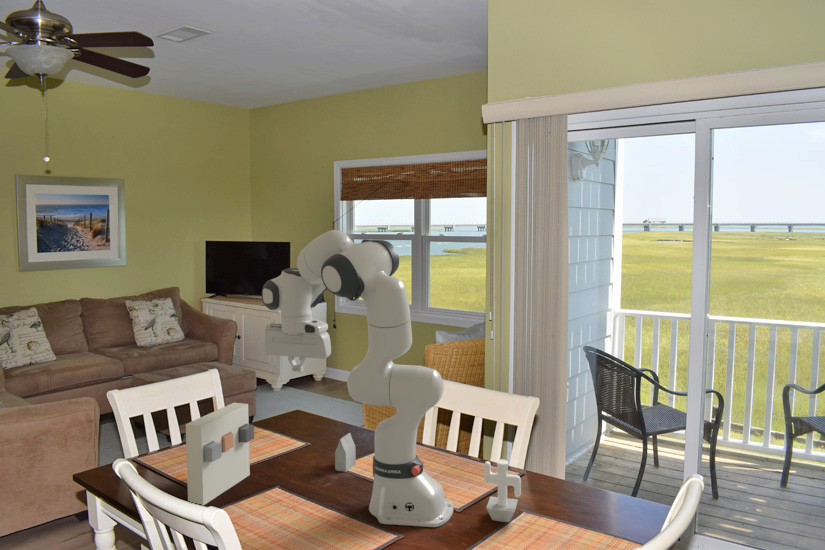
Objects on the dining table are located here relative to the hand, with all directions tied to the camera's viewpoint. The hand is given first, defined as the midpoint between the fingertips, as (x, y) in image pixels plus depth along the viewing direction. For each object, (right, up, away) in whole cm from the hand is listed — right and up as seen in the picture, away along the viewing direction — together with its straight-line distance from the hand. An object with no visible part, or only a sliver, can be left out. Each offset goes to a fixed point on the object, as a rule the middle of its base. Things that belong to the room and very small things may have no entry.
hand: (297, 371), depth 181 cm
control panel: (-22, -33, -2) cm, 40 cm away
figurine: (+57, -35, -21) cm, 70 cm away
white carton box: (+12, -32, +14) cm, 37 cm away
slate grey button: (-22, -22, -11) cm, 33 cm away
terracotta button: (-21, -22, -3) cm, 30 cm away
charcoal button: (-17, -21, +4) cm, 27 cm away
